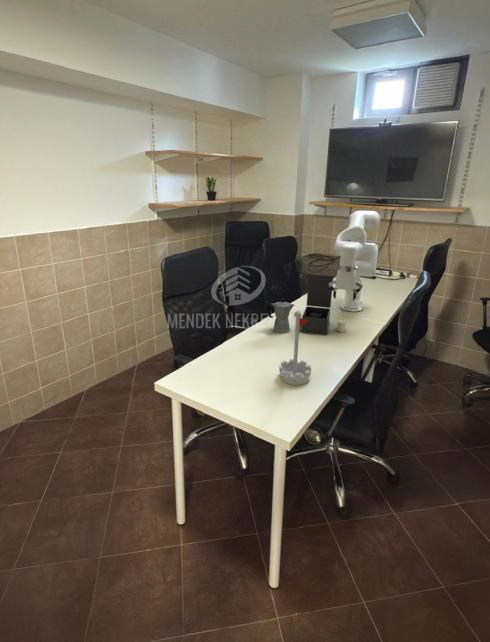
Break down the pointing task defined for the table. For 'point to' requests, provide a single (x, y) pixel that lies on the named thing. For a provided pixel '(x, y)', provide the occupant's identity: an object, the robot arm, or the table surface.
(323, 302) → the lid
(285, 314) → the coffeepot
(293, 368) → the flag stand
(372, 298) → the table surface
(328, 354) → the table surface
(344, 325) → the cylinder
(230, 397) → the table surface
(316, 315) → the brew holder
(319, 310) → the coffee maker
